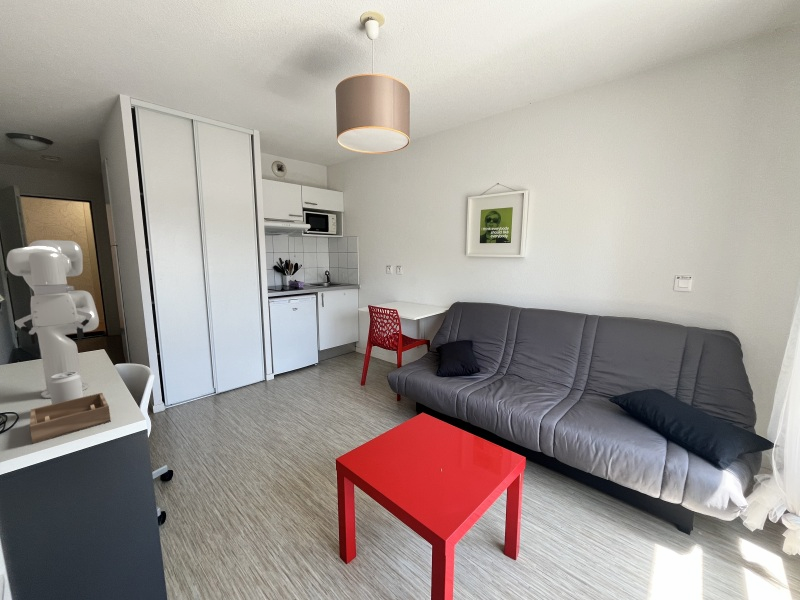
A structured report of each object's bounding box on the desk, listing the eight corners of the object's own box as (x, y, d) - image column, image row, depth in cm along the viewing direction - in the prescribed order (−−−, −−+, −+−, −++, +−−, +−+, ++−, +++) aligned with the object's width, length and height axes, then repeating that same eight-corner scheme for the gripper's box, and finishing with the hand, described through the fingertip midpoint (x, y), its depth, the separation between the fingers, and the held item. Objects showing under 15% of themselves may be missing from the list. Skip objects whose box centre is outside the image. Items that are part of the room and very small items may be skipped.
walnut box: (33, 424, 99) (30, 409, 98) (104, 406, 111) (102, 392, 110) (32, 444, 88) (29, 426, 88) (110, 421, 100) (108, 406, 99)
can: (90, 403, 113) (85, 370, 112) (66, 413, 106) (61, 378, 105) (71, 403, 114) (66, 370, 113) (46, 413, 107) (40, 377, 105)
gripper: (87, 288, 114) (94, 336, 115) (10, 292, 101) (19, 346, 103) (89, 288, 109) (96, 339, 110) (8, 293, 96) (18, 350, 98)
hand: (59, 342), depth 107 cm, fingers open, 9 cm apart
